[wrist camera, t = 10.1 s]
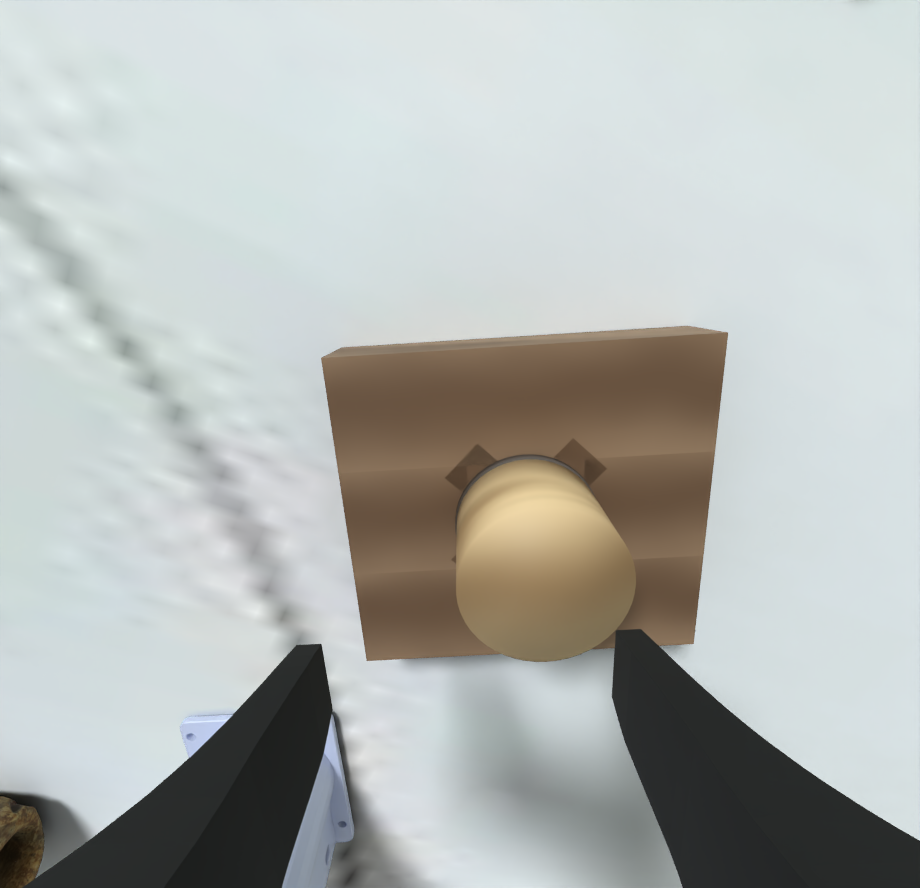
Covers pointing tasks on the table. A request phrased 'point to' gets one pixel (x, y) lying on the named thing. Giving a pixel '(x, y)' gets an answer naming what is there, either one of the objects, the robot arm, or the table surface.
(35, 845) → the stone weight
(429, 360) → the board
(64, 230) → the table surface
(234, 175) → the table surface
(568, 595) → the peg
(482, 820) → the table surface
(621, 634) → the robot arm
